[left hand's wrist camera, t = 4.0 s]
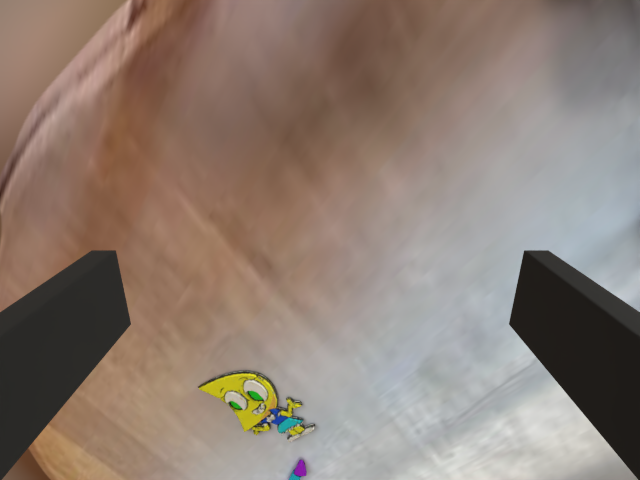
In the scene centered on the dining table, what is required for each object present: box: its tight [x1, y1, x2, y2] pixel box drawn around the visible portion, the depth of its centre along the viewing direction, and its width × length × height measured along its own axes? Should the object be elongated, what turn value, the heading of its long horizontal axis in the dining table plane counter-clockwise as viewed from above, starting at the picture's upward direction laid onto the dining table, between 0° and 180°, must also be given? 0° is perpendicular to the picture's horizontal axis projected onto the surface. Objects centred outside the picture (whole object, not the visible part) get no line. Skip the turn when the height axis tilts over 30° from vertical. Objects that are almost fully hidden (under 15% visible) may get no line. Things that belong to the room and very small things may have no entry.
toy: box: [198, 371, 315, 442], centre depth 53 cm, size 10×1×15 cm
